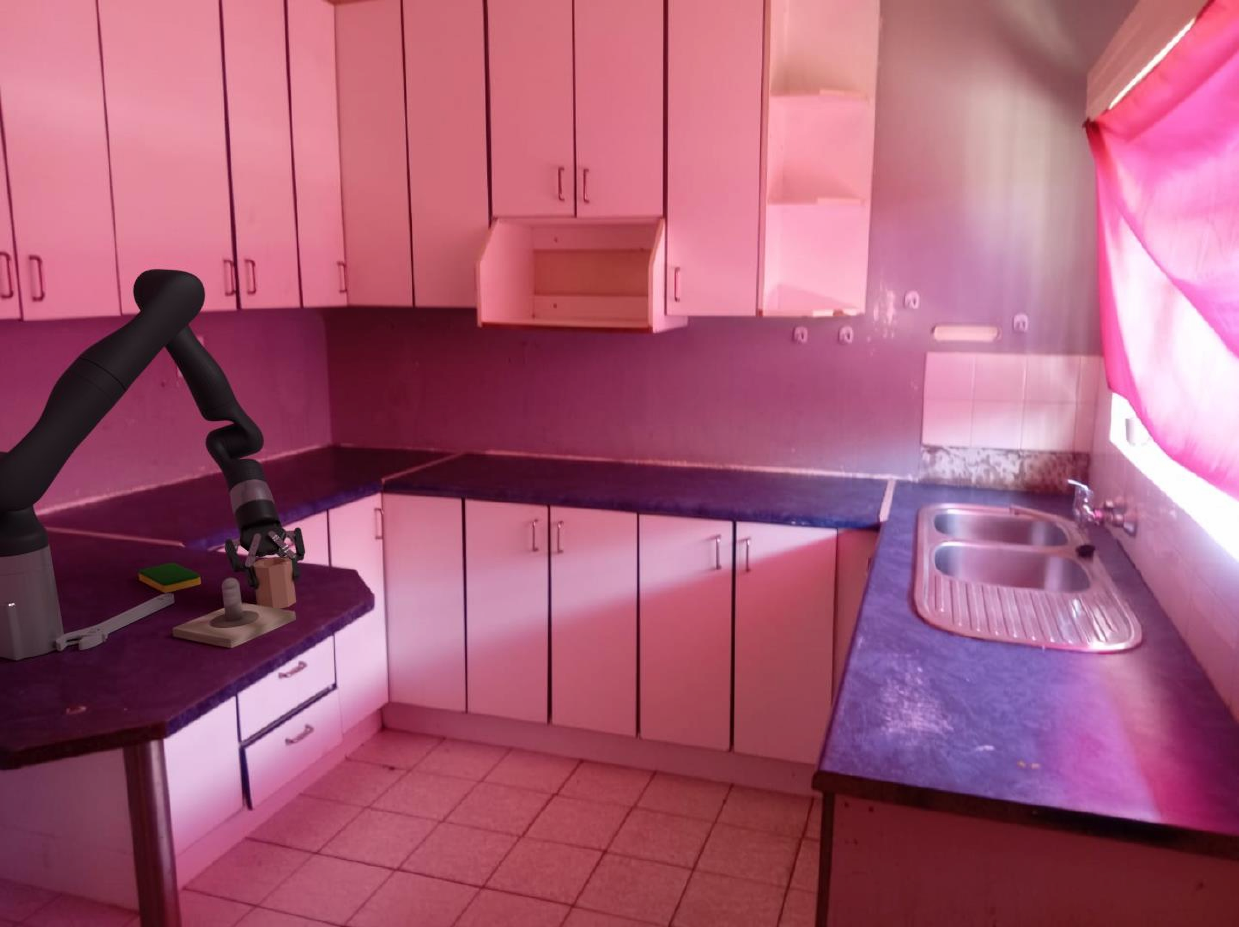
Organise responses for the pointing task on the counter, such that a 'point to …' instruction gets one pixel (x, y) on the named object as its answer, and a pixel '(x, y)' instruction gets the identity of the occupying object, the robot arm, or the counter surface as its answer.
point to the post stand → (233, 620)
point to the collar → (275, 582)
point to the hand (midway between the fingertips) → (276, 583)
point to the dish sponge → (169, 577)
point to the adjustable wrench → (112, 624)
